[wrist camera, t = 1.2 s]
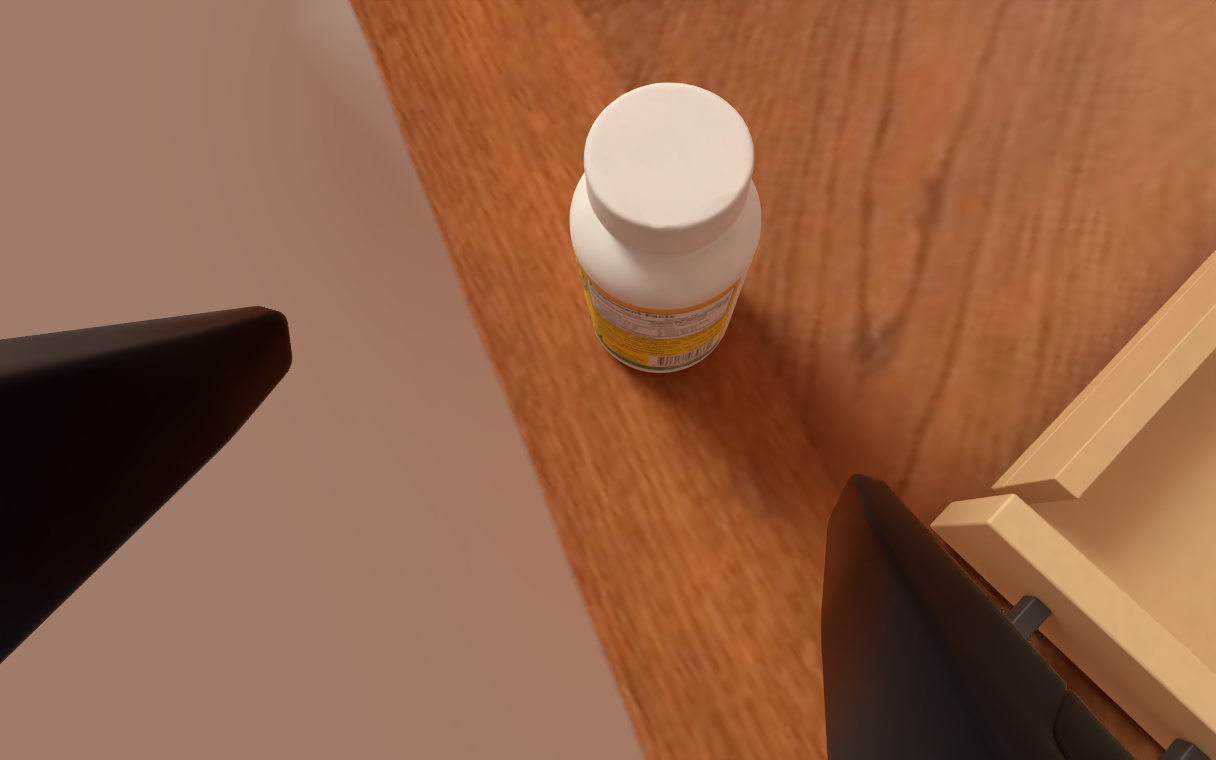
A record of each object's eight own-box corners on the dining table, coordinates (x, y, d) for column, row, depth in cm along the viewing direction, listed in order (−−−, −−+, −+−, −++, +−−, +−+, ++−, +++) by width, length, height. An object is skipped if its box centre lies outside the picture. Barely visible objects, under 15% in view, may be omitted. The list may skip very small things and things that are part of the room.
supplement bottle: (686, 401, 22) (714, 301, 13) (563, 333, 23) (508, 195, 14) (755, 283, 23) (825, 111, 14) (633, 223, 24) (626, 27, 15)
